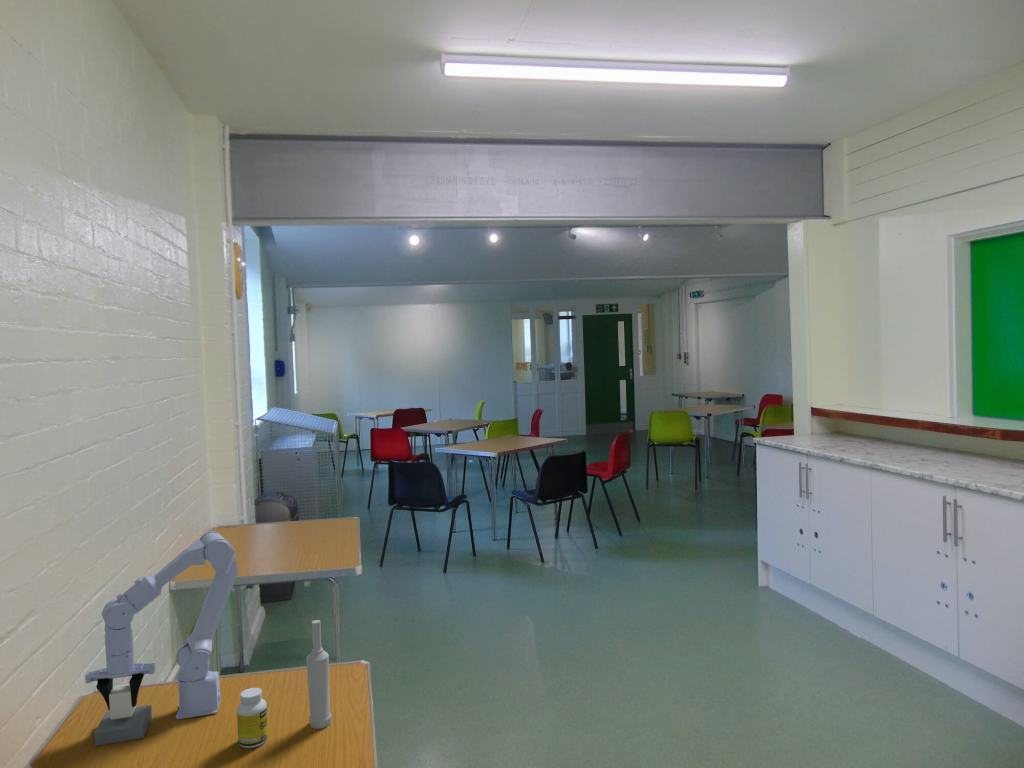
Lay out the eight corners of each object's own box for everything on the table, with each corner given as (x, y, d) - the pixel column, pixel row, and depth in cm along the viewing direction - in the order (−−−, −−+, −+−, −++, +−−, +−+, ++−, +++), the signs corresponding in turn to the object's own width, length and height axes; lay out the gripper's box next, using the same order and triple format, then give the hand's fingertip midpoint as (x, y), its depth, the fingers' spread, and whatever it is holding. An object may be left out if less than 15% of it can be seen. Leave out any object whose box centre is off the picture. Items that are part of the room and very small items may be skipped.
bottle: (336, 722, 171) (331, 620, 169) (317, 731, 167) (312, 627, 166) (324, 715, 174) (319, 615, 173) (305, 724, 171) (300, 622, 169)
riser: (151, 716, 176) (151, 704, 176) (143, 737, 166) (142, 725, 166) (106, 723, 173) (105, 711, 173) (95, 745, 164) (94, 733, 164)
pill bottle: (258, 750, 160) (256, 700, 159) (232, 748, 161) (229, 698, 161) (273, 735, 166) (271, 686, 166) (248, 732, 168) (246, 684, 167)
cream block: (136, 707, 173) (134, 683, 172) (131, 716, 168) (130, 691, 168) (115, 710, 171) (113, 685, 171) (110, 719, 167) (108, 694, 167)
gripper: (156, 639, 175) (159, 693, 175) (90, 648, 171) (93, 703, 171) (150, 651, 168) (153, 707, 169) (81, 661, 164) (84, 718, 165)
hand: (123, 706), depth 170 cm, fingers closed on cream block, 4 cm apart
